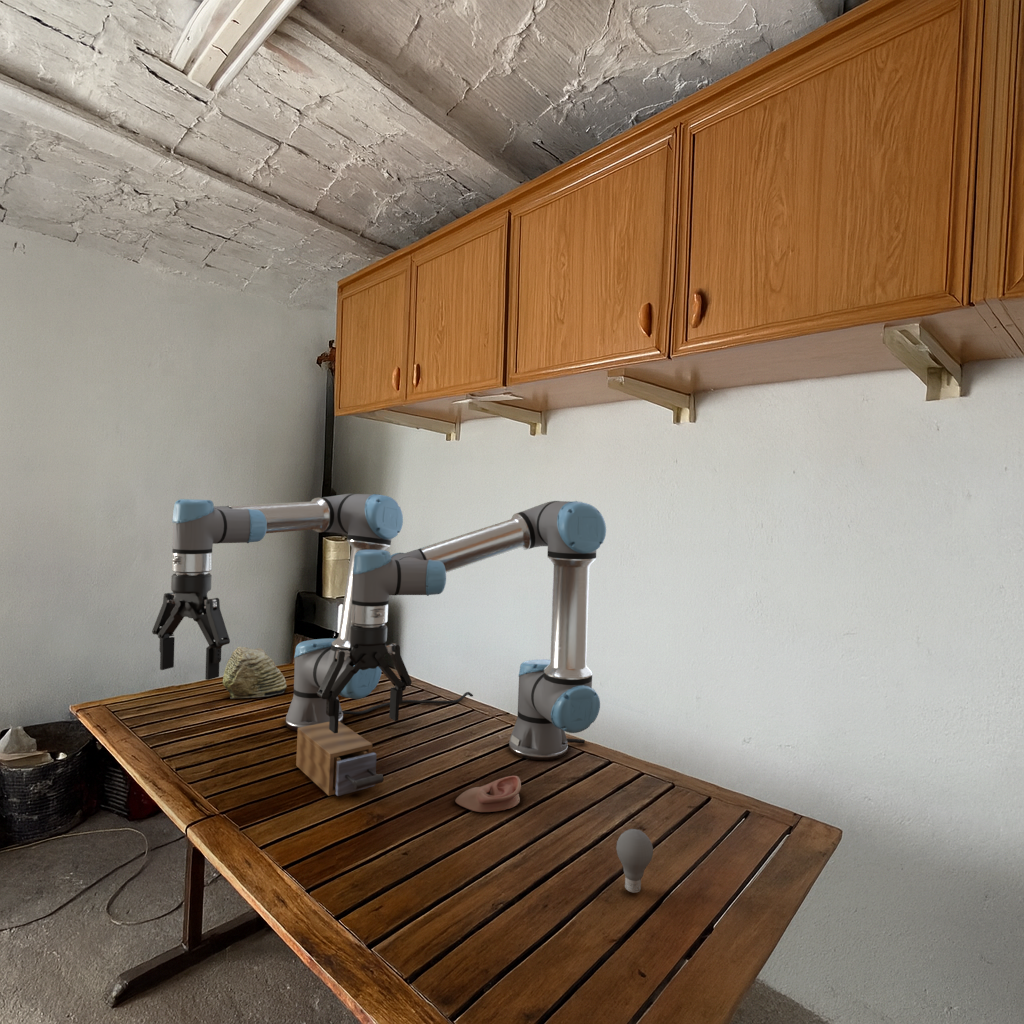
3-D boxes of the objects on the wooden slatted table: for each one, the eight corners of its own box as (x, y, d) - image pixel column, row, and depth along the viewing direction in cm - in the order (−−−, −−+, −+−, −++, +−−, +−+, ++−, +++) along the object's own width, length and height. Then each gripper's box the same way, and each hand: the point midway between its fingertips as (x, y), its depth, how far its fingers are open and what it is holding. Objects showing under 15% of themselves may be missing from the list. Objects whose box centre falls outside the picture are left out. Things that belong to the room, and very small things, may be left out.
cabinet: (371, 784, 141) (372, 744, 140) (328, 796, 134) (330, 754, 134) (335, 756, 155) (337, 719, 154) (296, 765, 148) (297, 727, 148)
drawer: (388, 796, 133) (389, 763, 133) (349, 807, 128) (351, 773, 128) (341, 759, 151) (342, 729, 151) (305, 767, 145) (307, 737, 145)
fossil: (218, 695, 195) (220, 647, 195) (278, 685, 208) (279, 640, 207) (228, 703, 189) (230, 653, 188) (289, 692, 201) (290, 645, 201)
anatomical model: (451, 789, 131) (466, 766, 142) (450, 808, 131) (465, 784, 142) (514, 798, 128) (524, 774, 139) (513, 817, 128) (523, 792, 139)
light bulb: (610, 879, 108) (613, 822, 108) (644, 879, 109) (647, 822, 109) (619, 902, 102) (622, 840, 102) (655, 901, 103) (658, 840, 103)
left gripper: (135, 569, 134) (132, 668, 135) (219, 580, 124) (216, 687, 125) (167, 566, 141) (164, 660, 142) (250, 576, 131) (247, 677, 132)
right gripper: (318, 632, 122) (313, 742, 122) (430, 622, 137) (425, 719, 137) (303, 625, 127) (299, 730, 128) (412, 616, 143) (408, 709, 143)
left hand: (189, 673), depth 133 cm, fingers open, 13 cm apart
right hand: (364, 725), depth 133 cm, fingers open, 13 cm apart
